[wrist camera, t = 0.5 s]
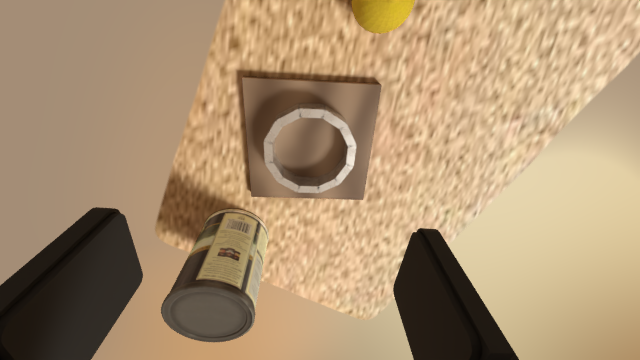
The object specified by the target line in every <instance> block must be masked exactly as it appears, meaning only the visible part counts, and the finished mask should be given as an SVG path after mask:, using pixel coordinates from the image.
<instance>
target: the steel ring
mask: <svg viewBox="0 0 640 360" xmlns="http://www.w3.org/2000/svg"><path fill="white" fill-rule="evenodd" d="M301 117H302V118H322V119H324V120H326V121H327V122H329V123H330V124H332V125H333V126H335V127H337V128H338V129H340V131H341V133H342V135H343V137H344V139H345V149H344V157H343V158H342V159H341V161H340V162H339V163H338V165H337V166H336V167H335V168H334V170H332V171H330V172H328V173H326V174H323V175H321V176H319V177H300V176H298V175H296V174H294V173H292V172H291V171H289V170H287V169H285V168H284V167H283V165H282V163H281V162H280V160H279V159H278V157H277V156H276V154H275V138H276V137H277V135H278V133H279V132H280V130H281V128H282V127H283V126H285V125H287V124H289V123H291V122H293V121H295V120H297V119H299V118H301ZM356 146H357V145H356V142H355V140H354V137H353V135H352V133H351V131H350V129H349V126H348V124H347V122H346V120H345V118H344V117H343V116H342V115H340V114H339V113H337V112H336V111H334V110H332V109H331V108H329V107H328V106H326V105H324V104H312V103H300V104H299V103H298V104H296V105H294V106H293V107H291V108H289V109H287V110H285V111H283V112H281V113H279V114H278V115H277V117H276V118H275V120H274V122H273V124H272V125H271V127H270V129H269V130H268V132H267V134H266V137H265V139H264V158H265V165H266V166H267V168H268V169H269V171H270V172H271V174H272V175H273V177H274V178H275V179H276V181H278V183H280V184H282V185H284V186H286V187H288V188H290V189H291V190H293V191H295V192H297V191H298V193H319V192H320V193H321V192H323V191H326V190H328V189H330V188H332V187H335V186H337V185H339V183H340V184H341V182H342V181H343V180H344V179H345V177H346V176H347V175H348V173H349V172H350V171H351V170H352V168H353V166H354V161H355V153H356Z"/></svg>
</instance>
